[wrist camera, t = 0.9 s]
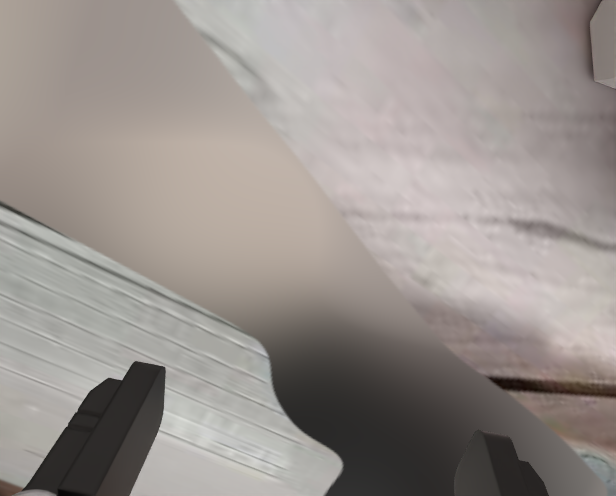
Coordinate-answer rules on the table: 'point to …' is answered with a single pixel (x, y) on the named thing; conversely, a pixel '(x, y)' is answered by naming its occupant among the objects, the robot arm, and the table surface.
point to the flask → (604, 43)
